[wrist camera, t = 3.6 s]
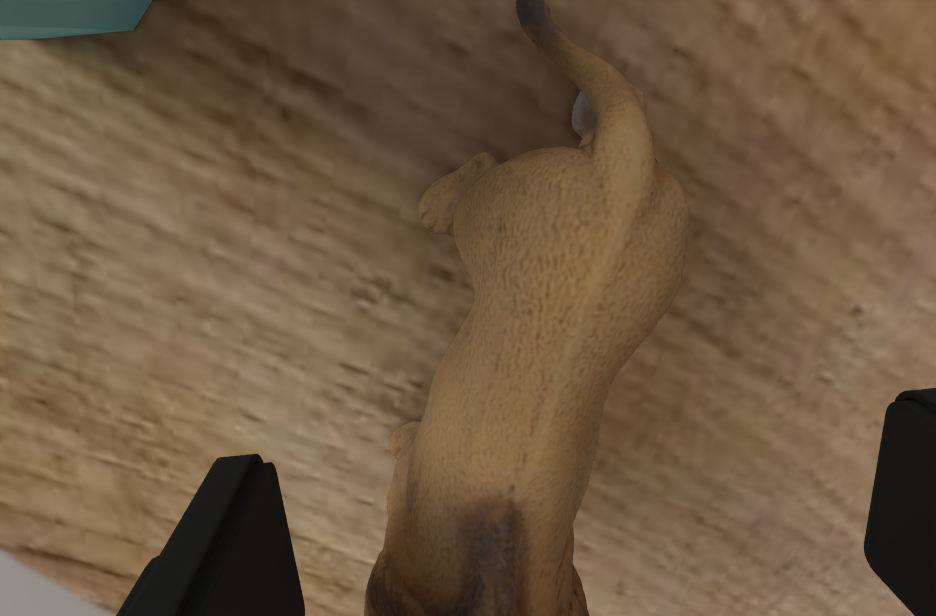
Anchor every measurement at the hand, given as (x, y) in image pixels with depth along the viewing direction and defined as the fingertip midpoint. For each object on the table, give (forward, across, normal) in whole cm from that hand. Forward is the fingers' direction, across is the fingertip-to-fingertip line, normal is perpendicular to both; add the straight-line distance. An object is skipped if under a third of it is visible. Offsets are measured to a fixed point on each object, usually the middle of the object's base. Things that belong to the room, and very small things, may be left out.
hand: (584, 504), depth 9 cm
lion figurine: (+6, 0, 0) cm, 6 cm away
